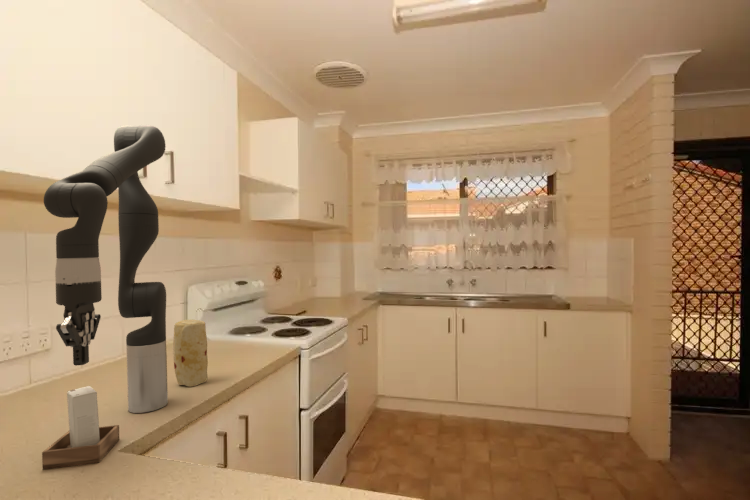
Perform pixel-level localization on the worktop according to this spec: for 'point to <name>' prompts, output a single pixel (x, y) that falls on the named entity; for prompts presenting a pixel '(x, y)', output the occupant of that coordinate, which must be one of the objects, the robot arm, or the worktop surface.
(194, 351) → the food model
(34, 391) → the worktop surface
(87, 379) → the worktop surface
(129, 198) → the robot arm
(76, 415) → the skincare box
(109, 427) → the brown square tray
